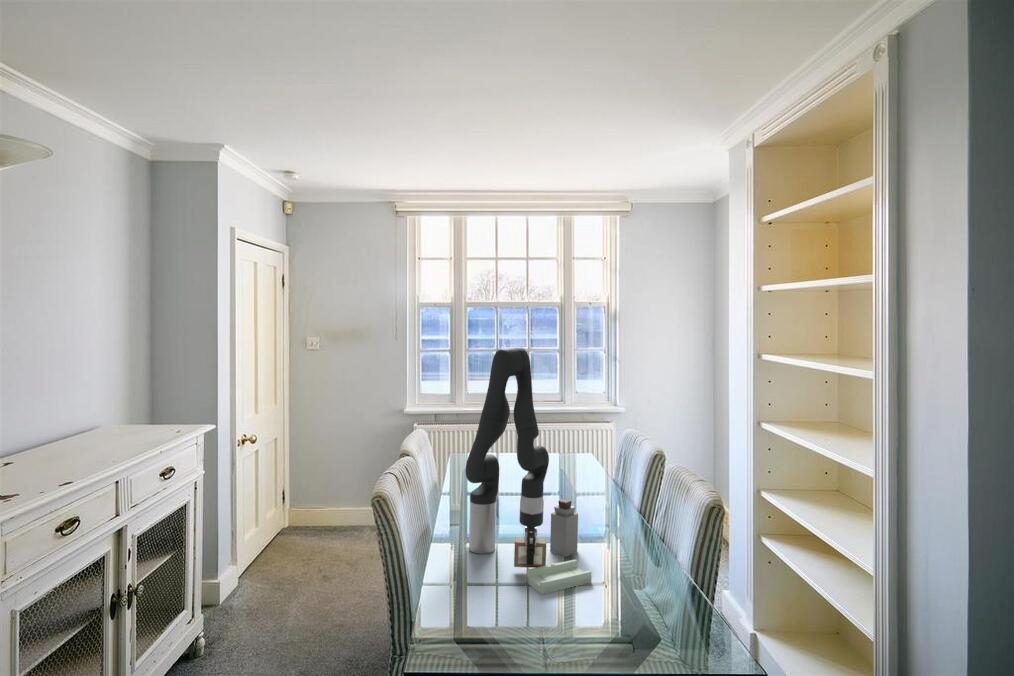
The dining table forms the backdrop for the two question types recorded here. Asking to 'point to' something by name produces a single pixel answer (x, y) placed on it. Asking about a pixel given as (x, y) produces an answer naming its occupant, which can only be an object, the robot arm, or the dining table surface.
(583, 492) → the dining table surface
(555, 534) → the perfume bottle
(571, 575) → the ledge
